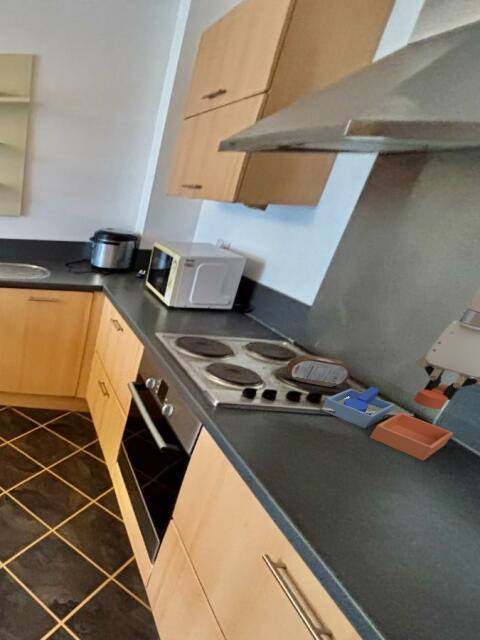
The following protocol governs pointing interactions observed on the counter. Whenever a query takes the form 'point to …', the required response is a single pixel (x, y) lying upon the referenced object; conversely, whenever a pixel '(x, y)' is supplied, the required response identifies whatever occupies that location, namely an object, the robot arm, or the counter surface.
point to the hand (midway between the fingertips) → (434, 397)
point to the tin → (318, 369)
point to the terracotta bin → (411, 435)
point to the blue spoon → (362, 399)
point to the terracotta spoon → (432, 397)
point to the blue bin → (356, 415)
